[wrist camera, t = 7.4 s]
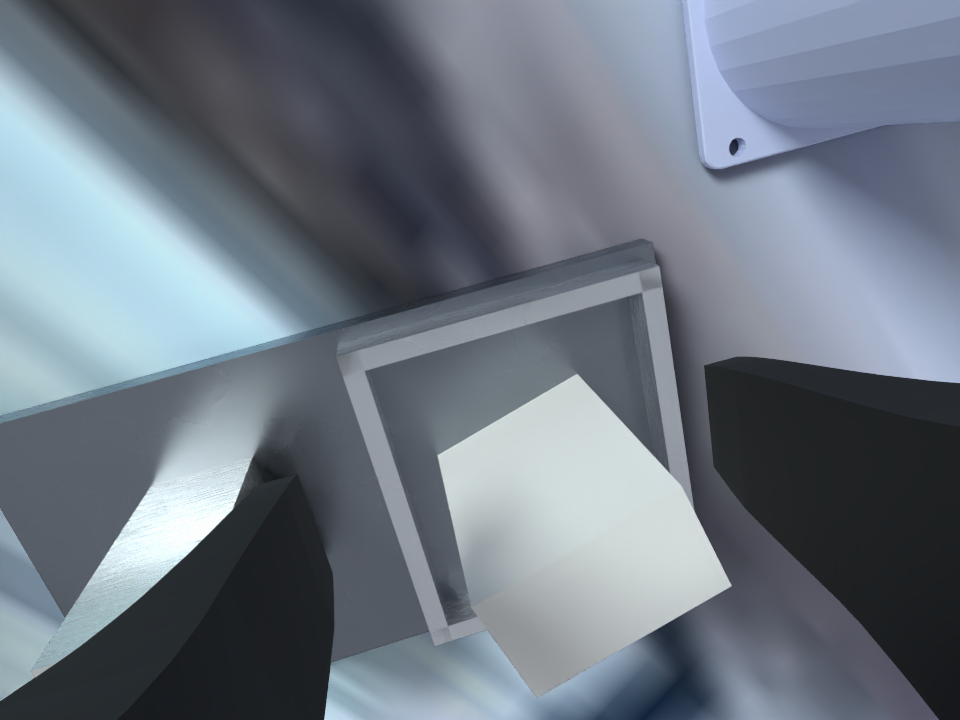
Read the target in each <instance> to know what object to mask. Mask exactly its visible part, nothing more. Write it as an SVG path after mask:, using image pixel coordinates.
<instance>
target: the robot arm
mask: <svg viewBox="0 0 960 720" xmlns="http://www.w3.org/2000/svg"><path fill="white" fill-rule="evenodd" d="M682 7H683V16H684V25H685V34H686V42H687V51H688V60H689V69H690V78H691V87H692V95H693V104H694V113H695V122H696V131H697V139H698V148H699V156H700V159H701V162H702V163H703V165H704V166H705V167H707V168H710V169H724V168H728V167H731V166H735V165H739V164H743V163H746V162H750V161H754V160H757V159H761V158H765V157H768V156H772V155H776V154H780V153H783V152H787V151H791V150H794V149H798V148H802V147H805V146H809V145H813V144H817V143H820V142H824V141H828V140H831V139H835V138H839V137H842V136H846V135H850V134H853V133H857V132H861V131H865V130H868V129H872V128H876V127H879V126H883V125H896V124H917V123H937V122H958V121H960V0H682ZM733 139H736V140H737V142H738V151H737V152H736V154H735V155H733V156H732V155H731V154H730V152H729V144H730V143H731V141H732V140H733ZM704 369H705V380H706V390H707V401H708V411H709V421H710V432H711V442H712V453H713V463H714V467H715V469H716V470H717V472H718V473H719V474H720V476H721V477H722V479H723V480H724V481H725V483H726V484H727V485H728V487H729V488H730V490H731V491H732V492H733V493H734V495H735V496H736V497H737V498H738V500H739V501H740V502H741V504H742V505H743V506H744V507H745V509H746V510H747V511H748V512H749V513H750V514H751V515H752V516H753V517H754V518H755V519H756V520H757V521H758V522H759V523H760V524H761V525H762V526H763V527H764V528H765V529H766V530H767V531H768V532H769V533H770V534H771V535H772V536H773V537H774V538H775V539H776V540H777V541H778V542H779V543H780V544H781V545H782V546H783V547H784V548H786V549H787V550H788V551H789V552H790V553H791V554H792V555H793V556H794V557H795V558H796V559H797V560H798V561H799V562H800V563H801V564H802V565H803V566H804V567H805V568H806V569H807V570H808V571H809V572H810V573H811V574H812V575H813V576H814V577H815V578H816V579H817V580H818V581H819V582H820V583H821V584H823V585H824V586H825V587H826V588H827V589H828V590H829V591H830V592H831V593H832V594H833V595H834V596H835V597H836V598H837V599H838V600H839V601H840V602H841V603H842V604H843V605H844V606H845V607H846V608H847V610H848V611H849V612H850V613H851V614H852V615H853V616H854V617H855V618H856V619H857V620H858V621H859V622H860V623H861V624H862V626H863V627H864V628H865V629H866V630H867V632H868V633H869V634H870V635H871V636H872V638H873V639H874V640H875V641H876V642H877V644H878V645H879V646H880V647H881V648H882V649H883V651H884V652H885V653H886V654H887V655H888V657H889V658H890V659H891V660H892V661H893V663H894V664H895V665H896V666H897V667H898V669H899V670H900V671H901V672H902V673H903V675H904V676H905V677H906V678H907V679H908V681H909V682H910V683H911V685H912V686H913V687H914V688H915V690H916V691H917V692H918V693H919V695H920V696H921V697H922V698H923V700H924V701H925V702H926V703H927V705H928V706H929V707H930V709H931V710H932V711H933V712H934V714H935V715H936V716H937V717H938V719H939V720H960V383H949V382H937V381H927V380H919V379H910V378H901V377H893V376H884V375H877V374H870V373H862V372H856V371H849V370H842V369H836V368H829V367H823V366H816V365H810V364H803V363H797V362H790V361H783V360H776V359H768V358H758V357H734V358H730V359H727V360H723V361H719V362H715V363H712V364H708V365H704ZM333 637H334V584H333V572H332V569H331V566H330V564H329V561H328V558H327V555H326V552H325V550H324V547H323V544H322V541H321V538H320V536H319V533H318V530H317V527H316V524H315V521H314V519H313V516H312V513H311V510H310V507H309V505H308V502H307V499H306V496H305V493H304V491H303V488H302V485H301V482H300V479H299V477H298V474H296V475H292V476H288V477H285V478H281V479H277V480H273V481H270V482H266V483H262V484H260V485H259V486H258V487H256V488H255V489H254V490H253V491H251V492H250V493H249V494H248V495H247V496H246V497H245V498H244V499H243V500H242V501H241V502H240V503H239V504H238V505H237V506H236V507H235V508H234V509H233V510H232V511H231V512H230V513H229V514H228V515H227V516H226V517H225V518H224V519H223V520H222V521H221V522H220V523H219V524H218V525H217V526H216V527H215V528H214V529H213V530H212V531H211V532H210V533H209V534H208V535H207V536H206V537H205V538H204V539H203V540H202V541H201V542H200V543H199V544H198V545H197V546H196V547H195V548H194V549H193V550H192V551H191V552H190V553H189V554H187V555H186V556H185V557H184V558H183V559H182V560H181V561H180V562H179V563H178V564H177V565H176V566H174V567H173V568H172V569H171V570H170V571H169V572H168V573H167V574H166V575H165V576H164V577H162V578H161V579H160V580H159V581H158V582H157V583H156V584H155V585H154V586H153V587H152V588H151V589H149V590H148V591H147V592H146V593H145V594H144V595H143V596H142V597H141V598H139V599H138V600H137V601H136V602H135V603H134V604H132V605H131V606H130V607H129V608H128V609H126V610H125V611H124V612H123V613H122V614H120V615H119V616H118V617H117V618H115V619H114V620H113V621H112V622H110V623H109V624H108V625H107V626H105V627H104V628H103V629H101V630H100V631H99V632H98V633H96V634H95V635H94V636H92V637H91V638H90V639H89V640H87V641H86V642H85V643H83V644H82V645H81V646H80V647H78V648H77V649H75V650H74V651H73V652H71V653H70V654H69V655H67V656H66V657H64V658H63V659H62V660H60V661H59V662H57V663H56V664H54V665H53V666H51V667H50V668H48V669H47V670H45V671H44V672H43V673H41V674H40V675H38V676H37V677H35V678H34V679H32V680H31V681H29V682H28V683H26V684H25V685H24V686H22V687H21V688H19V689H18V690H16V691H15V692H13V693H12V694H10V695H9V696H7V697H6V698H5V699H3V700H2V701H0V720H324V716H325V707H326V699H327V691H328V682H329V674H330V665H331V656H332V647H333Z"/></svg>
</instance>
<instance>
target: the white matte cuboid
mask: <svg viewBox="0 0 960 720" xmlns="http://www.w3.org/2000/svg"><path fill="white" fill-rule="evenodd" d="M437 456H438V460H439V465H440V469H441V474H442V478H443V483H444V487H445V492H446V496H447V501H448V505H449V510H450V514H451V519H452V523H453V528H454V532H455V536H456V541H457V545H458V550H459V554H460V559H461V563H462V568H463V572H464V577H465V581H466V586H467V590H468V595H469V599H470V604H471V608H472V610H473V611H474V612H475V614H476V615H477V616H478V618H479V619H480V621H481V622H482V623H483V625H484V626H485V628H486V629H487V630H488V632H489V633H490V634H491V636H492V637H493V639H494V640H495V641H496V643H497V644H498V645H499V647H500V648H501V650H502V651H503V652H504V654H505V655H506V657H507V658H508V659H509V661H510V662H511V663H512V665H513V666H514V668H515V669H516V670H517V672H518V673H519V675H520V676H521V677H522V679H523V680H524V681H525V683H526V684H527V686H528V687H529V688H530V690H531V691H532V692H533V694H534V695H535V697H536V698H538V697H540V696H541V695H543V694H545V693H547V692H548V691H550V690H552V689H554V688H555V687H557V686H559V685H560V684H562V683H564V682H566V681H567V680H569V679H571V678H573V677H574V676H576V675H578V674H580V673H581V672H583V671H585V670H587V669H588V668H590V667H592V666H594V665H595V664H597V663H599V662H600V661H602V660H604V659H606V658H607V657H609V656H611V655H613V654H614V653H616V652H618V651H620V650H621V649H623V648H625V647H627V646H628V645H630V644H632V643H634V642H635V641H637V640H639V639H640V638H642V637H644V636H646V635H647V634H649V633H651V632H653V631H654V630H656V629H658V628H660V627H661V626H663V625H665V624H667V623H668V622H670V621H672V620H673V619H675V618H677V617H679V616H680V615H682V614H684V613H686V612H687V611H689V610H691V609H693V608H694V607H696V606H698V605H700V604H701V603H703V602H705V601H707V600H708V599H710V598H712V597H713V596H715V595H717V594H719V593H720V592H722V591H724V590H726V589H727V588H729V587H731V586H732V585H731V584H730V582H729V580H728V578H727V576H726V574H725V572H724V570H723V568H722V566H721V564H720V562H719V560H718V558H717V556H716V554H715V552H714V550H713V548H712V546H711V544H710V542H709V540H708V538H707V536H706V534H705V532H704V530H703V528H702V526H701V524H700V522H699V520H698V518H697V516H696V514H695V512H694V510H693V508H692V506H691V504H690V502H689V500H688V498H687V496H686V494H685V492H684V490H683V488H682V486H681V485H680V484H679V483H678V482H677V481H676V479H675V478H674V477H673V476H672V475H671V474H670V473H669V472H668V471H667V470H666V469H665V468H664V467H663V465H662V464H661V463H660V462H659V461H658V460H657V459H656V458H655V457H654V456H653V455H652V454H651V453H650V452H649V450H648V449H647V448H646V447H645V446H644V445H643V444H642V443H641V442H640V441H639V440H638V439H637V438H636V436H635V435H634V434H633V433H632V432H631V431H630V430H629V429H628V428H627V427H626V426H625V425H624V424H623V422H622V421H621V420H620V419H619V418H618V417H617V416H616V415H615V414H614V413H613V412H612V411H611V410H610V408H609V407H608V406H607V405H606V404H605V403H604V402H603V401H602V400H601V399H600V398H599V397H598V396H597V394H596V393H595V392H594V391H593V390H592V389H591V388H590V387H589V386H588V385H587V384H586V383H585V382H584V381H583V379H582V378H581V377H580V376H579V375H578V374H576V375H574V376H572V377H571V378H569V379H567V380H566V381H564V382H562V383H560V384H559V385H557V386H555V387H554V388H552V389H550V390H548V391H547V392H545V393H543V394H542V395H540V396H538V397H537V398H535V399H533V400H531V401H530V402H528V403H526V404H525V405H523V406H521V407H519V408H518V409H516V410H514V411H513V412H511V413H509V414H507V415H506V416H504V417H502V418H501V419H499V420H497V421H495V422H494V423H492V424H490V425H489V426H487V427H485V428H483V429H482V430H480V431H478V432H477V433H475V434H473V435H472V436H470V437H468V438H466V439H465V440H463V441H461V442H460V443H458V444H456V445H454V446H453V447H451V448H449V449H448V450H446V451H444V452H442V453H441V454H439V455H437Z"/></svg>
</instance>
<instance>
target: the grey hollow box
mask: <svg viewBox="0 0 960 720" xmlns="http://www.w3.org/2000/svg"><path fill="white" fill-rule="evenodd" d="M576 374H578V375H579V376H580V377H581V378H582V379H583V381H584V382H585V383H586V384H587V385H588V386H589V387H590V388H591V389H592V390H593V391H594V392H595V393H596V394H597V396H598V397H599V398H600V399H601V400H602V401H603V402H604V403H605V404H606V405H607V406H608V407H609V408H610V410H611V411H612V412H613V413H614V414H615V415H616V416H617V417H618V418H619V419H620V420H621V421H622V422H623V424H624V425H625V426H626V427H627V428H628V429H629V430H630V431H631V432H632V433H633V434H634V435H635V436H636V438H637V439H638V440H639V441H640V442H641V443H642V444H643V445H644V446H645V447H646V448H647V449H648V450H649V452H650V453H651V454H652V455H653V456H654V457H655V458H656V459H657V460H658V461H659V462H660V463H661V464H662V465H663V467H664V468H665V469H666V470H667V471H668V472H669V473H670V474H671V475H672V476H673V477H674V478H675V479H676V481H677V482H678V483H679V484H680V485H681V486H682V488H683V490H684V492H685V494H686V496H687V498H688V500H689V502H690V504H691V506H692V508H693V510H694V505H693V498H692V491H691V484H690V477H689V470H688V463H687V456H686V449H685V442H684V435H683V428H682V421H681V414H680V407H679V400H678V393H677V386H676V379H675V372H674V365H673V358H672V351H671V344H670V337H669V330H668V323H667V316H666V309H665V302H664V295H663V288H662V281H661V274H660V267H659V266H658V265H656V261H655V254H654V247H653V242H650V241H647V240H644V239H639V240H636V241H632V242H629V243H625V244H621V245H618V246H614V247H610V248H607V249H603V250H600V251H596V252H592V253H589V254H585V255H582V256H578V257H574V258H571V259H567V260H563V261H560V262H556V263H553V264H549V265H545V266H542V267H538V268H535V269H531V270H527V271H524V272H520V273H516V274H513V275H509V276H506V277H502V278H498V279H495V280H491V281H488V282H484V283H480V284H477V285H473V286H469V287H466V288H462V289H459V290H455V291H451V292H448V293H444V294H441V295H437V296H433V297H430V298H426V299H422V300H419V301H415V302H412V303H408V304H404V305H401V306H397V307H394V308H390V309H386V310H383V311H379V312H375V313H372V314H368V315H365V316H361V317H357V318H354V319H350V320H347V321H343V322H339V323H336V324H332V325H328V326H325V327H321V328H318V329H314V330H310V331H307V332H303V333H299V334H296V335H292V336H289V337H285V338H281V339H278V340H274V341H271V342H267V343H263V344H260V345H256V346H252V347H249V348H245V349H242V350H238V351H234V352H231V353H227V354H224V355H220V356H216V357H213V358H209V359H205V360H202V361H198V362H195V363H191V364H187V365H184V366H180V367H177V368H173V369H169V370H166V371H162V372H158V373H155V374H151V375H148V376H144V377H140V378H137V379H133V380H130V381H126V382H122V383H119V384H115V385H111V386H108V387H104V388H101V389H97V390H93V391H90V392H86V393H83V394H79V395H75V396H72V397H68V398H64V399H61V400H57V401H54V402H50V403H46V404H43V405H39V406H36V407H32V408H28V409H25V410H21V411H17V412H14V413H10V414H7V415H3V416H0V508H1V510H2V512H3V514H4V515H5V517H6V519H7V520H8V522H9V524H10V525H11V527H12V529H13V531H14V532H15V534H16V536H17V537H18V539H19V541H20V542H21V544H22V546H23V547H24V549H25V551H26V553H27V554H28V556H29V558H30V559H31V561H32V563H33V564H34V566H35V568H36V569H37V571H38V573H39V575H40V576H41V578H42V580H43V581H44V583H45V585H46V586H47V588H48V590H49V591H50V593H51V595H52V597H53V598H54V600H55V602H56V603H57V605H58V607H59V608H60V610H61V612H62V613H63V615H64V617H65V619H64V621H63V622H62V624H61V625H60V627H59V628H58V630H57V631H56V633H55V634H54V636H53V637H52V639H51V641H50V642H49V644H48V645H47V647H46V648H45V650H44V651H43V653H42V654H41V656H40V657H39V659H38V661H37V662H36V664H35V665H34V667H33V668H32V670H31V673H32V674H33V676H34V677H37V676H38V675H40V674H41V673H43V672H44V671H45V670H47V669H48V668H50V667H51V666H53V665H54V664H56V663H57V662H59V661H60V660H62V659H63V658H64V657H66V656H67V655H69V654H70V653H71V652H73V651H74V650H75V649H77V648H78V647H80V646H81V645H82V644H83V643H85V642H86V641H87V640H89V639H90V638H91V637H92V636H94V635H95V634H96V633H98V632H99V631H100V630H101V629H103V628H104V627H105V626H107V625H108V624H109V623H110V622H112V621H113V620H114V619H115V618H117V617H118V616H119V615H120V614H122V613H123V612H124V611H125V610H126V609H128V608H129V607H130V606H131V605H132V604H134V603H135V602H136V601H137V600H138V599H139V598H141V597H142V596H143V595H144V594H145V593H146V592H147V591H148V590H149V589H151V588H152V587H153V586H154V585H155V584H156V583H157V582H158V581H159V580H160V579H161V578H162V577H164V576H165V575H166V574H167V573H168V572H169V571H170V570H171V569H172V568H173V567H174V566H176V565H177V564H178V563H179V562H180V561H181V560H182V559H183V558H184V557H185V556H186V555H187V554H189V553H190V552H191V551H192V550H193V549H194V548H195V547H196V546H197V545H198V544H199V543H200V542H201V541H202V540H203V539H204V538H205V537H206V536H207V535H208V534H209V533H210V532H211V531H212V530H213V529H214V528H215V527H216V526H217V525H218V524H219V523H220V522H221V521H222V520H223V519H224V518H225V517H226V516H227V515H228V514H229V513H230V512H231V511H232V510H233V509H234V508H235V507H236V506H237V505H238V504H239V503H240V502H241V501H242V500H243V499H244V498H245V497H246V496H247V495H248V494H249V493H250V492H251V491H253V490H254V489H255V488H256V487H258V486H259V485H260V484H262V483H266V482H270V481H273V480H277V479H281V478H285V477H288V476H292V475H296V474H298V477H299V479H300V482H301V485H302V488H303V491H304V493H305V496H306V499H307V502H308V505H309V507H310V510H311V513H312V516H313V519H314V521H315V524H316V527H317V530H318V533H319V536H320V538H321V541H322V544H323V547H324V550H325V552H326V555H327V558H328V561H329V564H330V566H331V569H332V572H333V584H334V637H333V647H332V656H331V662H334V661H337V660H340V659H343V658H346V657H349V656H352V655H356V654H359V653H362V652H365V651H368V650H371V649H374V648H378V647H381V646H384V645H387V644H390V643H393V642H396V641H400V640H403V639H406V638H409V637H412V636H415V635H418V634H422V633H425V632H428V631H430V634H431V637H432V640H433V643H434V646H437V645H440V644H443V643H447V642H450V641H453V640H456V639H459V638H462V637H465V636H468V635H472V634H475V633H478V632H481V631H484V630H487V629H486V628H485V626H484V625H483V623H482V622H481V621H480V619H479V618H478V616H477V615H476V614H475V612H474V611H473V610H472V608H471V604H470V599H469V595H468V590H467V586H466V581H465V577H464V572H463V568H462V563H461V559H460V554H459V550H458V545H457V541H456V536H455V532H454V528H453V523H452V519H451V514H450V510H449V505H448V501H447V496H446V492H445V487H444V483H443V478H442V474H441V469H440V465H439V460H438V456H437V455H439V454H441V453H442V452H444V451H446V450H448V449H449V448H451V447H453V446H454V445H456V444H458V443H460V442H461V441H463V440H465V439H466V438H468V437H470V436H472V435H473V434H475V433H477V432H478V431H480V430H482V429H483V428H485V427H487V426H489V425H490V424H492V423H494V422H495V421H497V420H499V419H501V418H502V417H504V416H506V415H507V414H509V413H511V412H513V411H514V410H516V409H518V408H519V407H521V406H523V405H525V404H526V403H528V402H530V401H531V400H533V399H535V398H537V397H538V396H540V395H542V394H543V393H545V392H547V391H548V390H550V389H552V388H554V387H555V386H557V385H559V384H560V383H562V382H564V381H566V380H567V379H569V378H571V377H572V376H574V375H576Z"/></svg>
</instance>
